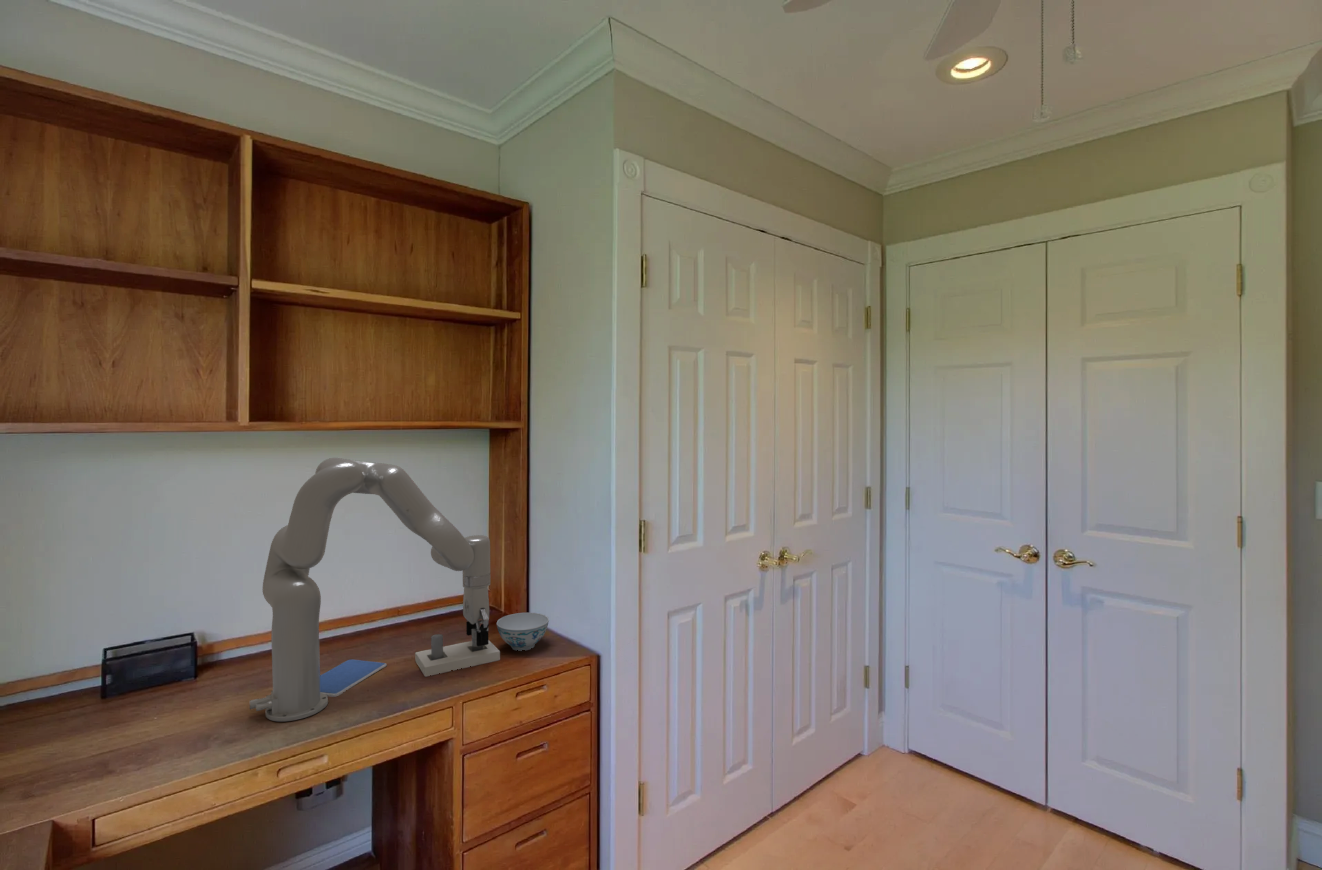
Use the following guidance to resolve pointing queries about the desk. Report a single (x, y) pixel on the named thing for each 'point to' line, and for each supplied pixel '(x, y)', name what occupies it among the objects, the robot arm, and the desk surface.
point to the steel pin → (474, 644)
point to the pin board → (453, 656)
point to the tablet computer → (347, 676)
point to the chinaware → (522, 629)
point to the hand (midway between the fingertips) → (477, 639)
